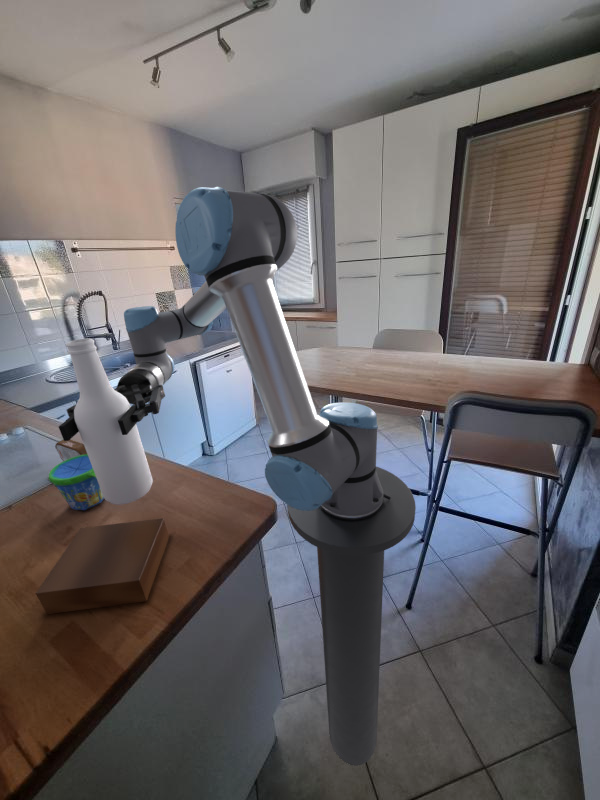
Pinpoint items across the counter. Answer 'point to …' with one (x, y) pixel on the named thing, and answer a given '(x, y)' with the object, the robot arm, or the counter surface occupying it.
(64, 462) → the snack cup
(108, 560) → the stand
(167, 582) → the counter surface
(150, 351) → the robot arm
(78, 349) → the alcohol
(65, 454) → the tin
